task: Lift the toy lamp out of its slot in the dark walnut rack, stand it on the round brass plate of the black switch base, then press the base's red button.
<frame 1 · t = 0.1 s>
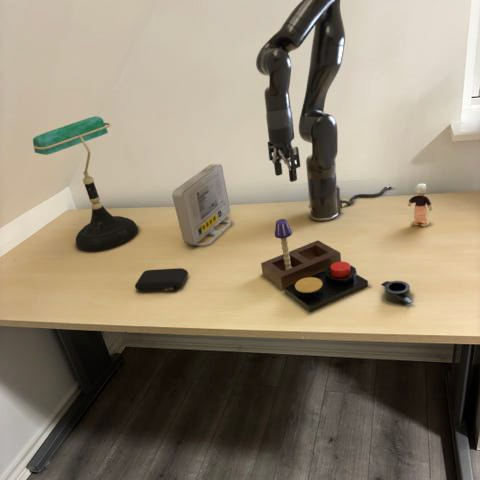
hand: (286, 177, 155), 17 cm above the table, tool pointing down, fingers open, 8 cm apart
black winged round part: (397, 297, 123), on the table
network device: (210, 233, 172), on the table
grandmother figurine: (419, 224, 153), on the table
rack: (301, 270, 141), on the table
banker's lamp: (107, 237, 184), on the table
carrying case: (162, 285, 147), on the table
brass plate: (308, 285, 127), resting on switch base
toy lamp: (288, 276, 140), resting in rack
switch base: (325, 289, 131), on the table
switch button: (340, 269, 130), point 4 cm above the table, slide at 0.1 cm
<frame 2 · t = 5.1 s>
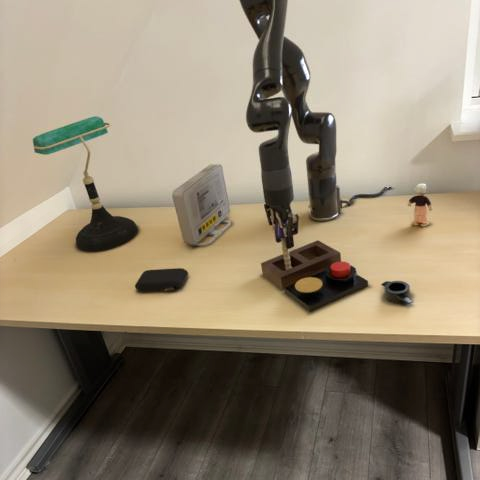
hand: (284, 244, 134), 10 cm above the table, tool pointing down, fingers closed on toy lamp, 4 cm apart
toy lamp: (288, 276, 140), resting in rack, touching gripper
everything else where it was.
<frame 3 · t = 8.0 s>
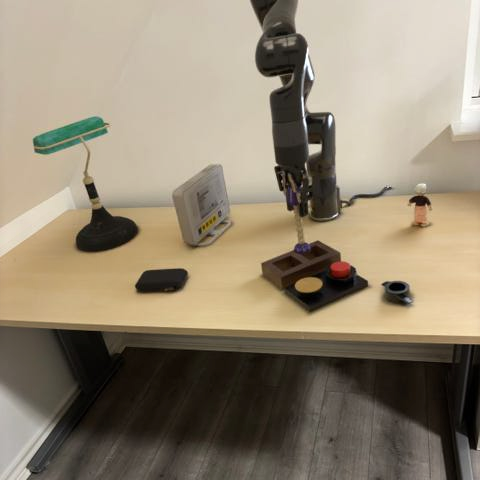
hand: (297, 212, 118), 23 cm above the table, tool pointing down, fingers closed on toy lamp, 4 cm apart
toy lamp: (301, 250, 124), point 13 cm above the table, touching gripper
everything else where it was.
when the fingers open (14 cm above the table, at t = 11.0 s): toy lamp stays where it is, resting on brass plate.
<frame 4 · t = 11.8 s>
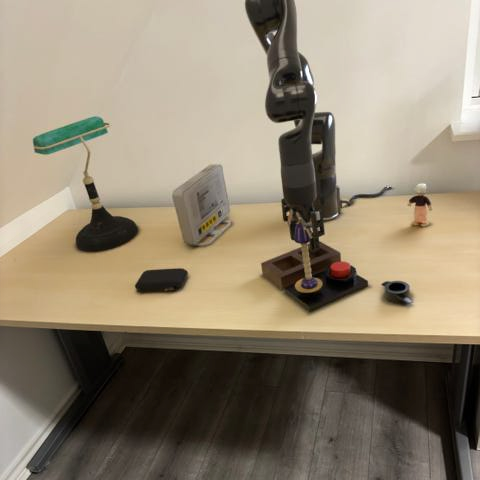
hand: (304, 244, 121), 15 cm above the table, tool pointing down, fingers open, 8 cm apart
toy lamp: (308, 284, 127), point 4 cm above the table, touching brass plate
everything else where it was.
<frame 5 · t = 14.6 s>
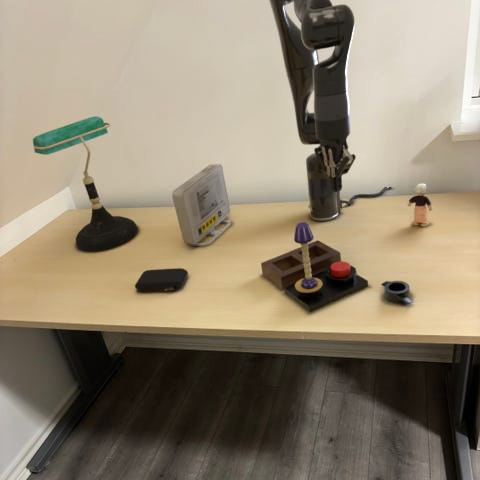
hand: (336, 190, 118), 26 cm above the table, tool pointing down, fingers closed
nothing on the table moved.
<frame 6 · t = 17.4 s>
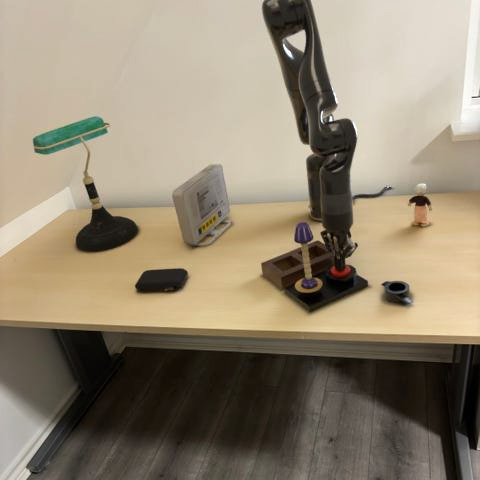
hand: (340, 269, 130), 4 cm above the table, tool pointing down, fingers closed
switch button: (340, 272, 131), point 3 cm above the table, slide at -0.9 cm, touching gripper
everything else where it was.
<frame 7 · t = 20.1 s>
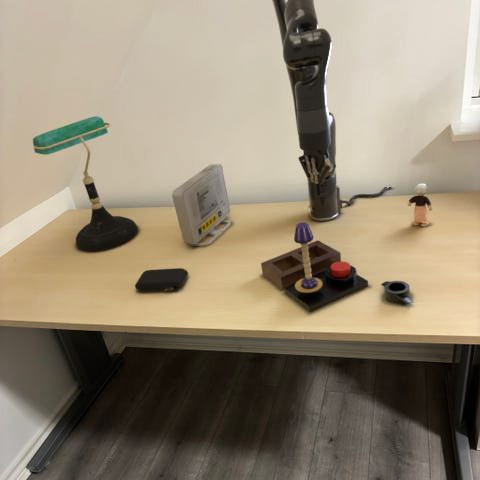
hand: (319, 195, 128), 21 cm above the table, tool pointing down, fingers closed
switch button: (340, 269, 130), point 4 cm above the table, slide at 0.1 cm
everything else where it was.
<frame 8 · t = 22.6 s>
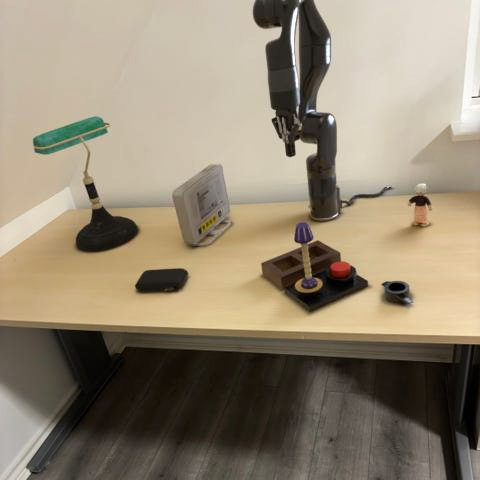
hand: (290, 156, 134), 29 cm above the table, tool pointing down, fingers closed
nothing on the table moved.
at the end: toy lamp 0.1 cm off-centre on the brass plate, point 0.1 cm above the brass plate's base; toy lamp tilted 0°; switch button pushed in 1.1 cm at the most during the clip, back to where it started at the end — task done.
